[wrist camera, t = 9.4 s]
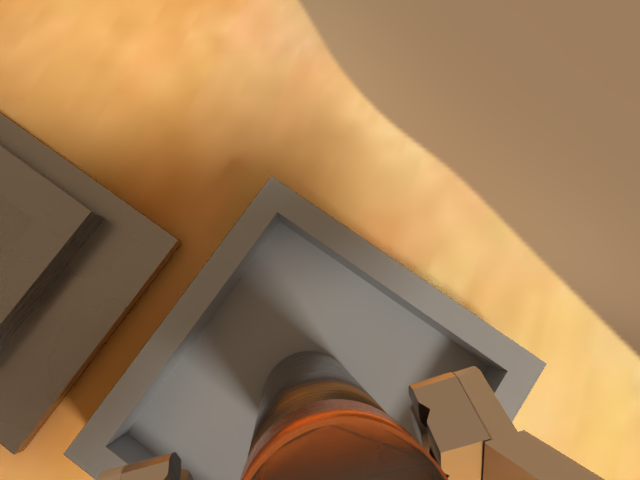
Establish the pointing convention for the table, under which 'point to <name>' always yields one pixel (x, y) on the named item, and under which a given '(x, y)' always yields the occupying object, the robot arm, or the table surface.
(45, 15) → the table surface
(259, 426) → the pin
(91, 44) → the table surface
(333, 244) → the tray
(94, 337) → the collar plate
